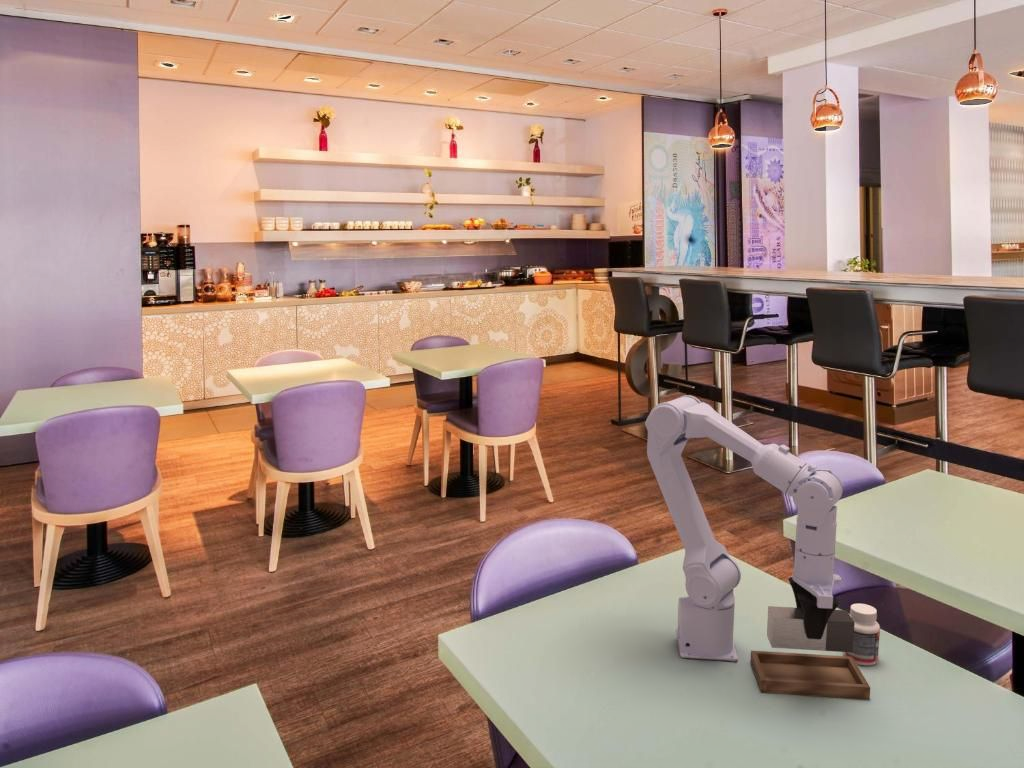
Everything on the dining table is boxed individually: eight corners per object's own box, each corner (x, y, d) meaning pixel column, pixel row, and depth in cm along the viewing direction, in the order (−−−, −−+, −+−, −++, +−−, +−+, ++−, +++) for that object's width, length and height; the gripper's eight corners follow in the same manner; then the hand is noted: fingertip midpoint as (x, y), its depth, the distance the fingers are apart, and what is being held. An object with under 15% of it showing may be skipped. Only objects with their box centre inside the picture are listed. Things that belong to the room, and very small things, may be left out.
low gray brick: (771, 647, 115) (773, 617, 114) (766, 635, 119) (768, 606, 118) (852, 652, 114) (854, 622, 113) (844, 639, 118) (846, 610, 117)
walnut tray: (760, 692, 114) (761, 680, 114) (750, 661, 123) (750, 650, 123) (869, 699, 112) (870, 687, 112) (851, 667, 121) (852, 656, 120)
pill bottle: (881, 668, 121) (885, 617, 119) (847, 665, 122) (851, 614, 120) (872, 651, 126) (876, 602, 124) (840, 648, 127) (843, 600, 125)
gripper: (856, 569, 106) (850, 656, 108) (828, 533, 120) (824, 610, 123) (805, 566, 107) (801, 653, 109) (783, 531, 121) (780, 608, 124)
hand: (810, 630), depth 116 cm, fingers closed on low gray brick, 4 cm apart
